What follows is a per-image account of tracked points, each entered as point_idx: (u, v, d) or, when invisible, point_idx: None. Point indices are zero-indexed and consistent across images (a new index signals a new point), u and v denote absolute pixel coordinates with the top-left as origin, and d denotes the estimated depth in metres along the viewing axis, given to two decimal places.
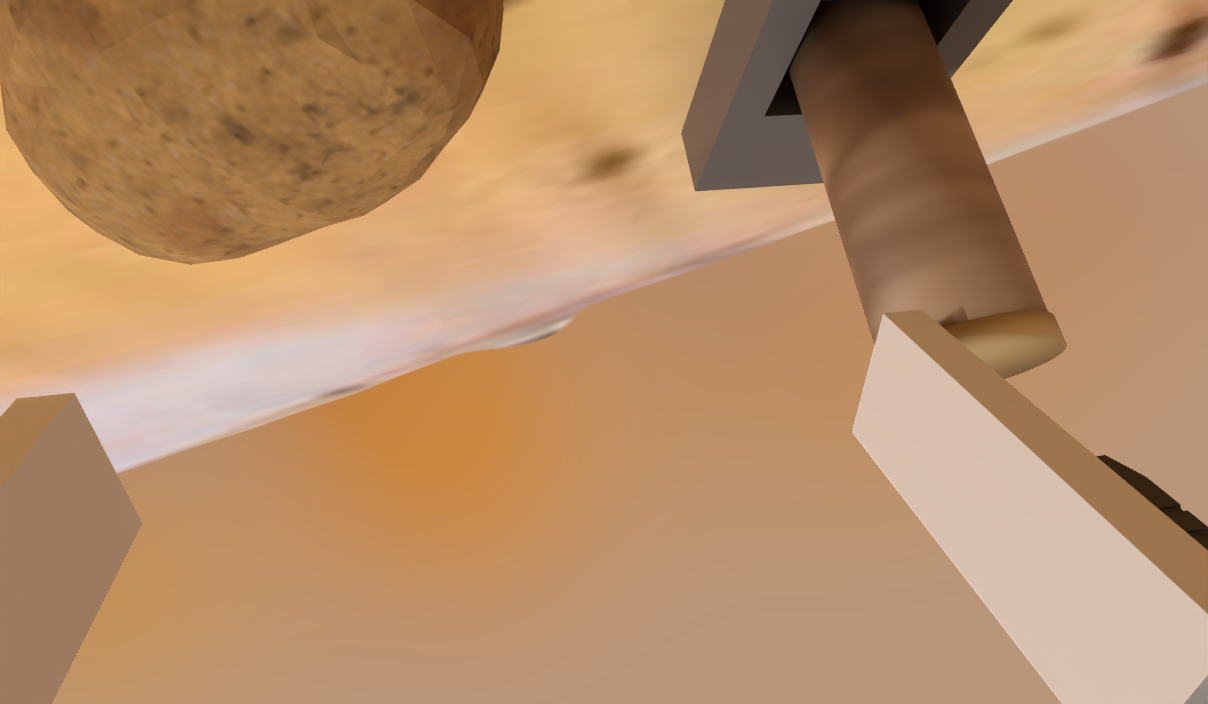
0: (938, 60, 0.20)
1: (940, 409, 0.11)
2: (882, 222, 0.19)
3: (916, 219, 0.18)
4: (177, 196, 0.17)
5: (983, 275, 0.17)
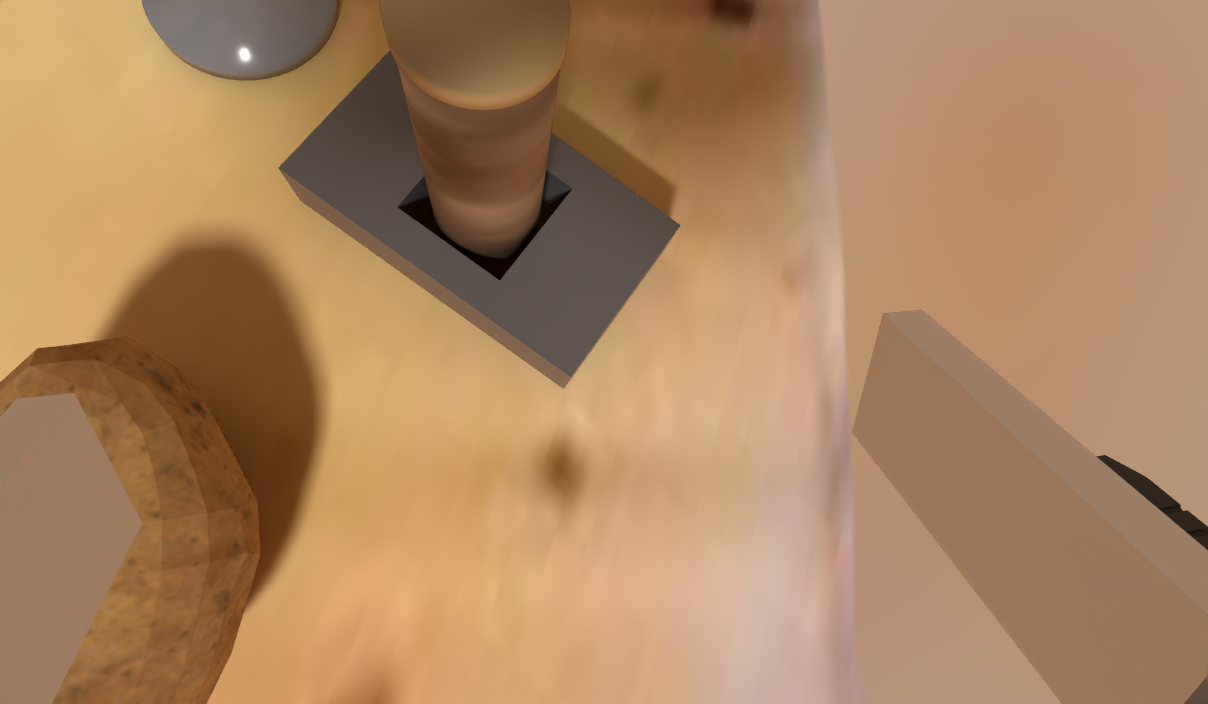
0: None
1: (941, 409, 0.11)
2: (414, 128, 0.20)
3: None
4: None
5: None
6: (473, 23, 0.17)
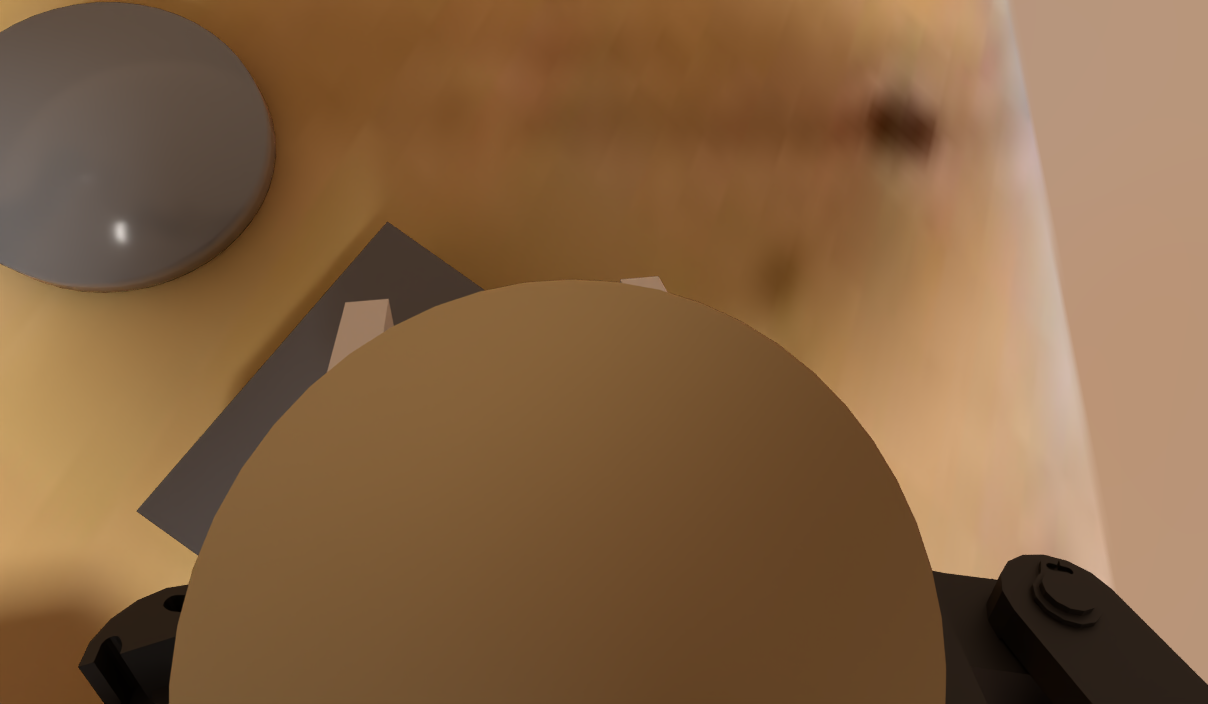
0: None
1: None
2: None
3: None
4: None
5: None
6: None
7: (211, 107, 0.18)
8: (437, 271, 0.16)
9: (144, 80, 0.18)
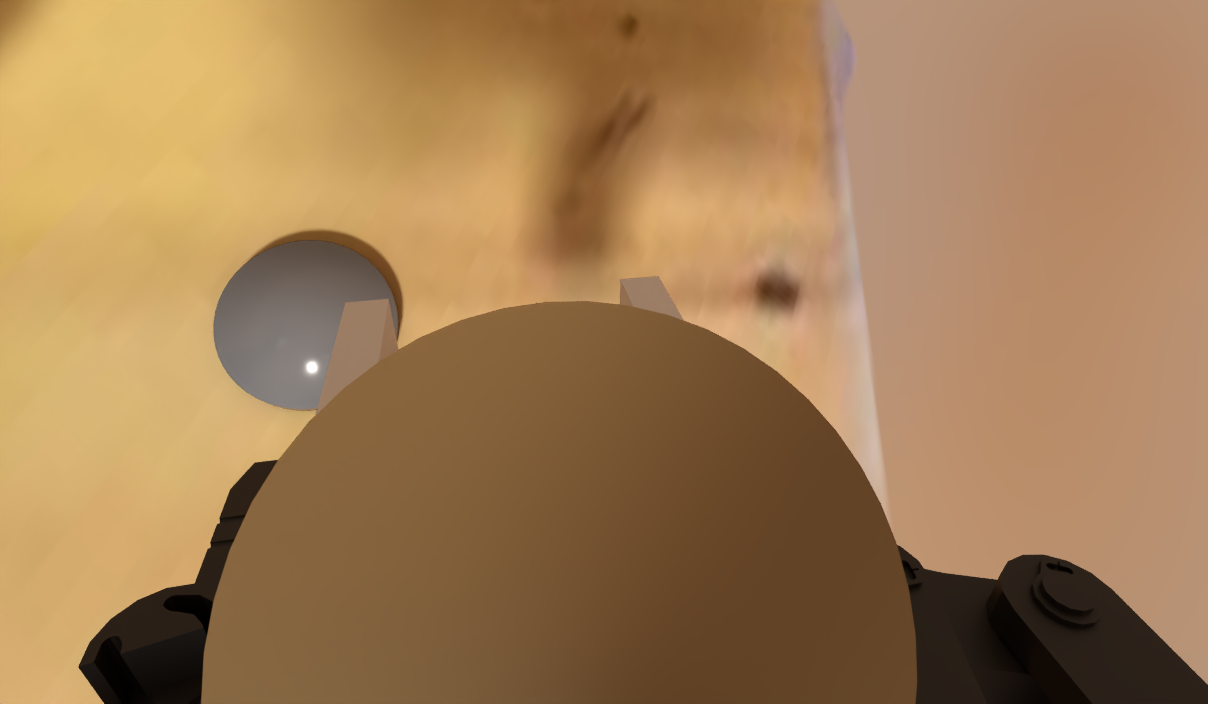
0: None
1: None
2: None
3: None
4: None
5: None
6: None
7: None
8: None
9: (327, 287, 0.32)
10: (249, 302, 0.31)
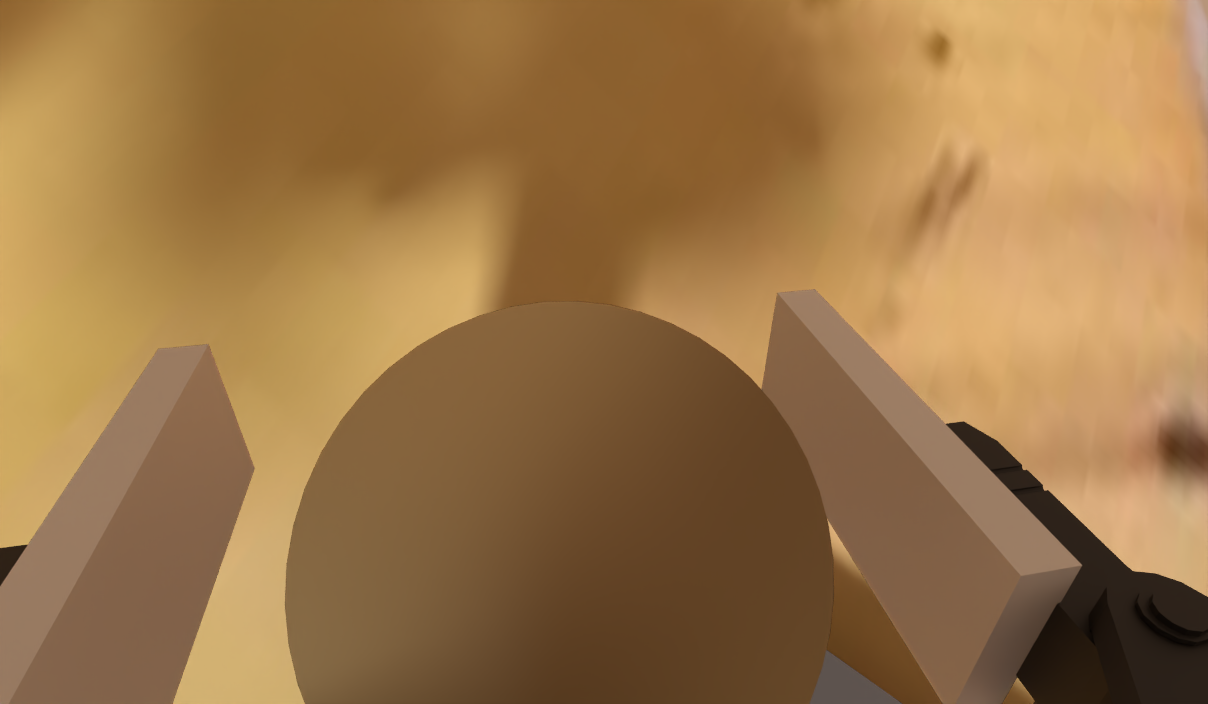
0: None
1: (819, 381, 0.11)
2: None
3: None
4: None
5: None
6: (568, 609, 0.06)
7: None
8: (871, 695, 0.17)
9: None
10: None
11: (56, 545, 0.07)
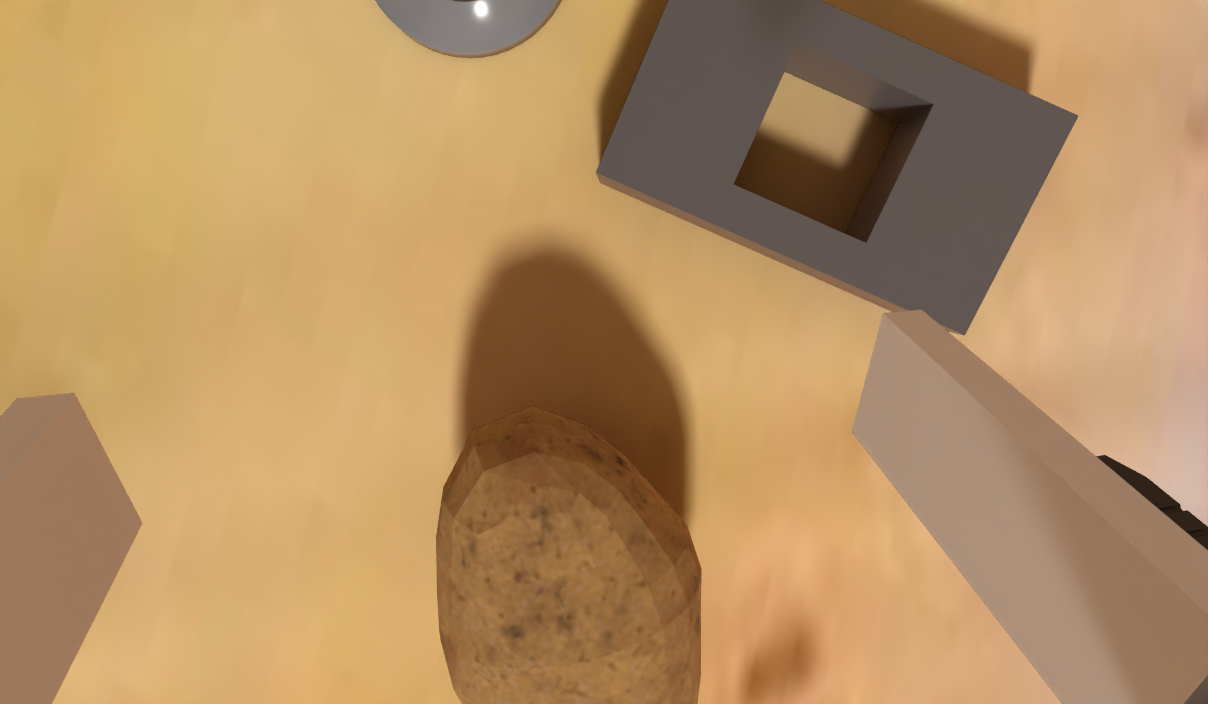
0: None
1: (940, 409, 0.11)
2: None
3: None
4: None
5: None
6: None
7: None
8: None
9: None
10: None
11: None
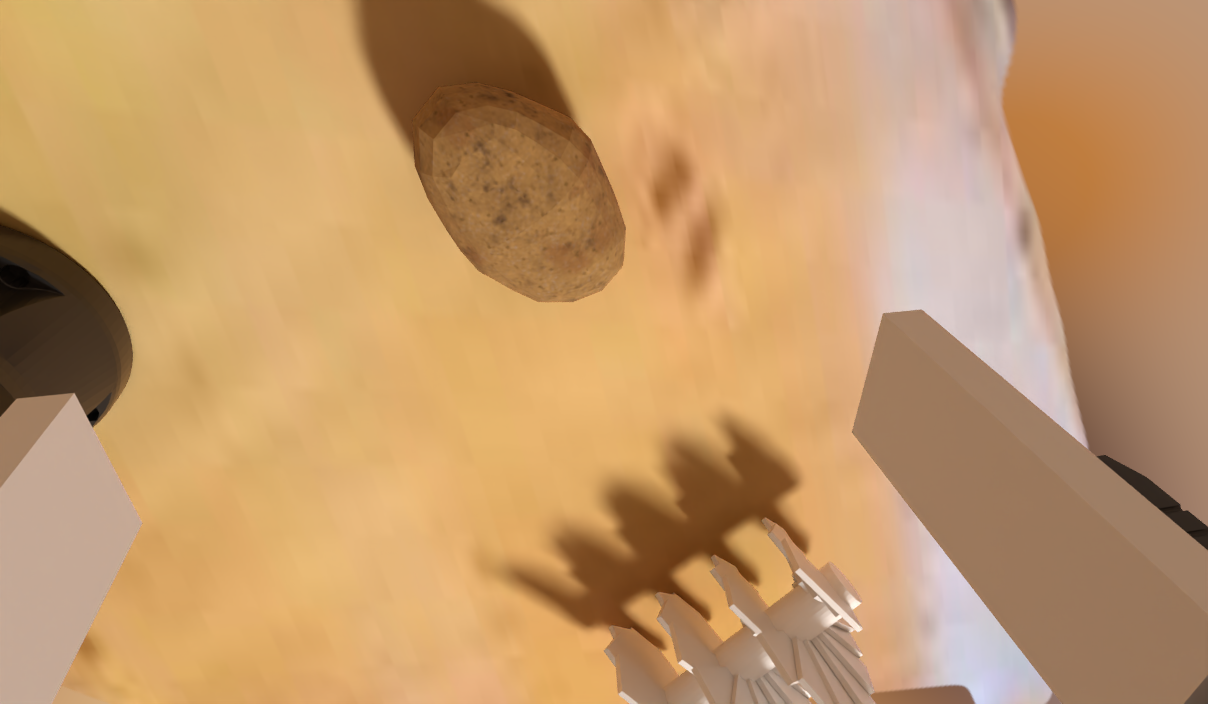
0: None
1: (940, 409, 0.11)
2: None
3: None
4: (541, 256, 0.36)
5: None
6: None
7: None
8: None
9: None
10: None
11: None
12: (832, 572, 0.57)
